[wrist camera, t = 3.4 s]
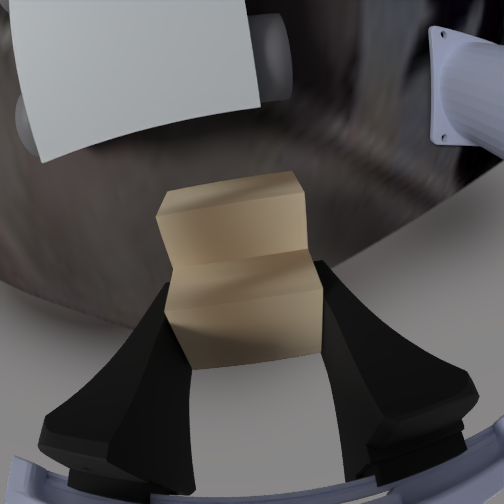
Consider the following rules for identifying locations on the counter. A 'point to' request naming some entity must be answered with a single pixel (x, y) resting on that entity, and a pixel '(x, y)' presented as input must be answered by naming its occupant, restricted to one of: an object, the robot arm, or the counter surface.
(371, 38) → the counter surface
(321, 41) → the counter surface
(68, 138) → the trolley
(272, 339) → the block
